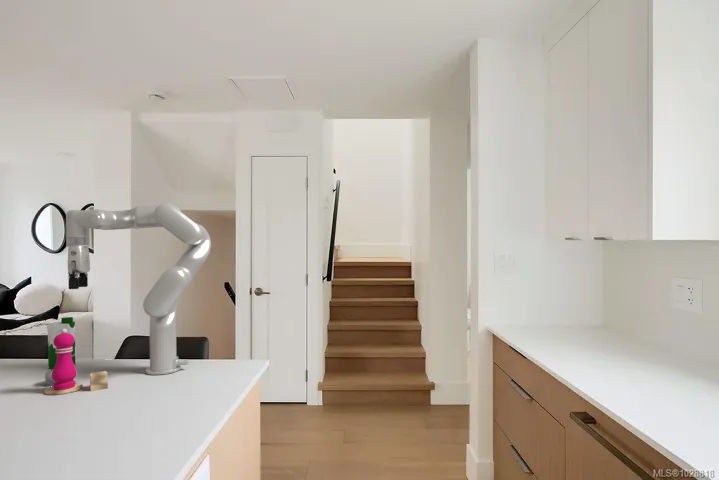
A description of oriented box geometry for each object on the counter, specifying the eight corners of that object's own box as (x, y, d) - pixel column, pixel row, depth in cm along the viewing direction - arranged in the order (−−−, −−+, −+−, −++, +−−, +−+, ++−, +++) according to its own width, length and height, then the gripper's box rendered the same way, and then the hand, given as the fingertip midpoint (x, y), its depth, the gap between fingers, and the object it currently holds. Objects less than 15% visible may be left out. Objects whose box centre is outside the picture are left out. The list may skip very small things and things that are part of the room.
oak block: (106, 385, 161) (106, 370, 161) (107, 388, 157) (107, 374, 157) (90, 387, 159) (89, 373, 159) (90, 391, 154) (90, 376, 154)
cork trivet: (87, 383, 163) (87, 381, 163) (76, 393, 152) (76, 391, 152) (52, 386, 160) (52, 384, 160) (38, 396, 149) (38, 394, 149)
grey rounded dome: (50, 379, 168) (50, 368, 167) (75, 377, 169) (74, 366, 169) (41, 387, 160) (40, 376, 160) (67, 385, 162) (66, 374, 161)
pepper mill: (64, 391, 152) (63, 330, 152) (46, 390, 154) (45, 330, 154) (81, 384, 159) (81, 327, 159) (64, 383, 161) (63, 326, 161)
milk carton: (68, 369, 184) (67, 319, 184) (44, 370, 183) (43, 320, 183) (79, 363, 193) (78, 316, 193) (56, 364, 192) (55, 316, 192)
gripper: (81, 242, 167) (81, 289, 166) (96, 243, 183) (96, 285, 183) (57, 242, 165) (58, 290, 165) (75, 243, 182) (75, 286, 181)
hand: (78, 287), depth 174 cm, fingers open, 9 cm apart
